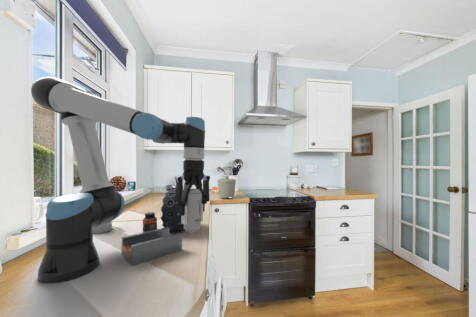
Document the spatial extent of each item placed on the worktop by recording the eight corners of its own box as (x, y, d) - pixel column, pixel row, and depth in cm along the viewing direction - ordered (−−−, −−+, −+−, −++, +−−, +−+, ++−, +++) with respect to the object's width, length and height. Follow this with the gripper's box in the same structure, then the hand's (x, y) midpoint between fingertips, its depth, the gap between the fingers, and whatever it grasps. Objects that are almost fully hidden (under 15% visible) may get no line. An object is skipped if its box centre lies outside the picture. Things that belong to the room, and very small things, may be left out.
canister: (215, 197, 205) (215, 175, 205) (233, 196, 210) (233, 174, 211) (219, 200, 188) (219, 176, 188) (238, 199, 193) (238, 176, 193)
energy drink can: (198, 233, 75) (200, 190, 76) (181, 232, 75) (183, 190, 75) (201, 228, 81) (203, 188, 82) (185, 227, 81) (187, 188, 81)
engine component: (85, 234, 100) (109, 231, 104) (85, 191, 101) (110, 189, 105) (91, 227, 111) (113, 225, 114) (92, 188, 111) (113, 187, 115)
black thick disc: (190, 223, 118) (190, 187, 118) (183, 236, 98) (183, 192, 98) (170, 224, 117) (170, 187, 117) (159, 236, 97) (159, 192, 97)
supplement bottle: (159, 236, 97) (160, 211, 97) (151, 241, 91) (151, 215, 91) (148, 235, 99) (148, 211, 99) (139, 240, 93) (139, 214, 93)
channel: (132, 265, 70) (132, 246, 70) (121, 254, 79) (121, 237, 79) (181, 249, 82) (181, 233, 83) (167, 241, 91) (167, 226, 91)
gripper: (175, 159, 69) (173, 230, 69) (220, 160, 83) (218, 220, 82) (164, 158, 75) (162, 224, 74) (208, 160, 88) (207, 216, 88)
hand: (192, 222), depth 78 cm, fingers closed on energy drink can, 6 cm apart
